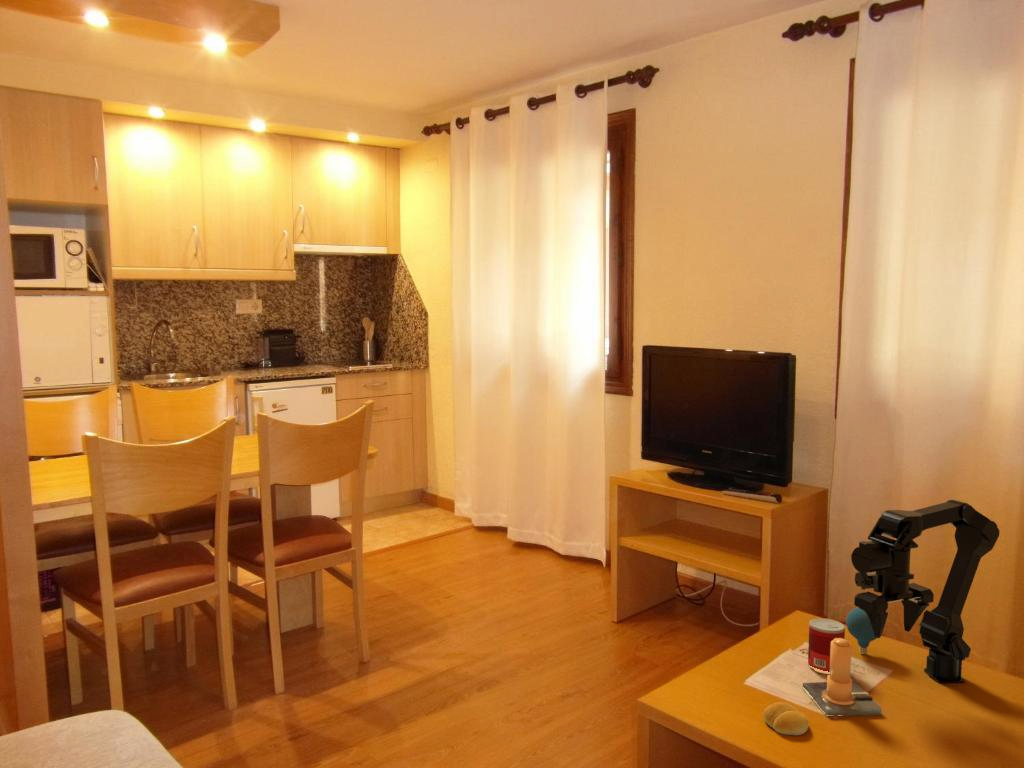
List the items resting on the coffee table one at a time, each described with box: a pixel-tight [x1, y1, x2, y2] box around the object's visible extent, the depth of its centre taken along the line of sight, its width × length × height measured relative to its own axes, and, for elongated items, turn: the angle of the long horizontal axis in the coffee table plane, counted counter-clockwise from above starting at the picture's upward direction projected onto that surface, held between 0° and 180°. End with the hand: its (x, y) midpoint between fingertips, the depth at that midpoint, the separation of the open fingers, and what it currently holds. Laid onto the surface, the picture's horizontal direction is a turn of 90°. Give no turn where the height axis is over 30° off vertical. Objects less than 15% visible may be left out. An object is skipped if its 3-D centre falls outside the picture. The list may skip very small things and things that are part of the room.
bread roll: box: [762, 701, 809, 736], centre depth 161 cm, size 8×9×4 cm
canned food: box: [807, 617, 846, 672], centre depth 186 cm, size 8×8×11 cm
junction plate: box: [802, 680, 882, 717], centre depth 170 cm, size 12×12×2 cm
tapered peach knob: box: [826, 638, 853, 702], centre depth 169 cm, size 5×5×13 cm
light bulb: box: [845, 606, 878, 655], centre depth 194 cm, size 8×8×12 cm
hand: (892, 634), depth 175 cm, fingers open, 9 cm apart
